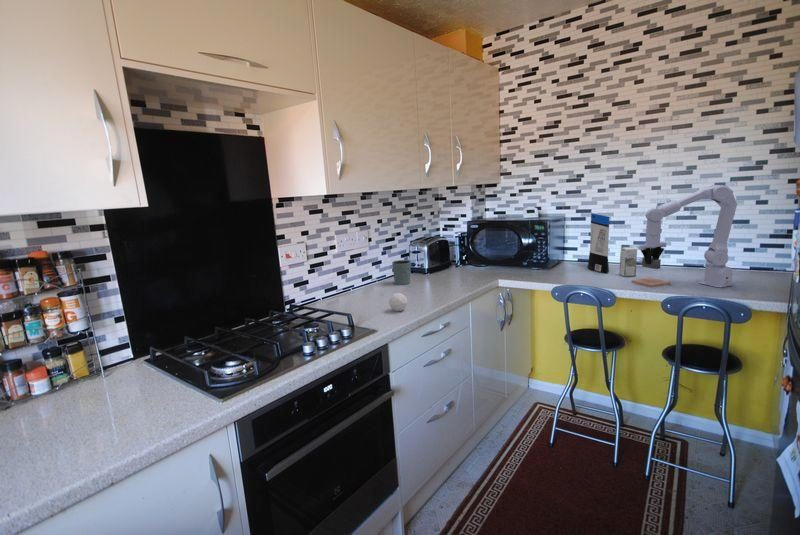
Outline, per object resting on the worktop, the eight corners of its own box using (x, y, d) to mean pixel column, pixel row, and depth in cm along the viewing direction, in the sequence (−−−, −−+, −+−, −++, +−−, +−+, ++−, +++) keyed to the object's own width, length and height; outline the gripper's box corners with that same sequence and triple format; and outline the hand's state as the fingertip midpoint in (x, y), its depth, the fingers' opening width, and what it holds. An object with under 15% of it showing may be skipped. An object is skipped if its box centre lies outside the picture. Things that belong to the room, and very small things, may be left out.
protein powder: (597, 274, 219) (599, 217, 213) (581, 265, 243) (582, 213, 237) (616, 273, 218) (619, 216, 212) (598, 264, 242) (599, 212, 236)
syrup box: (630, 273, 215) (632, 246, 213) (636, 276, 210) (637, 248, 207) (619, 274, 216) (620, 246, 213) (624, 276, 210) (625, 248, 207)
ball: (398, 318, 177) (390, 307, 172) (391, 307, 183) (383, 296, 178) (413, 307, 177) (405, 296, 172) (405, 297, 184) (397, 286, 178)
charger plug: (662, 268, 191) (662, 259, 190) (656, 269, 190) (656, 260, 189) (643, 264, 201) (643, 256, 200) (637, 265, 200) (637, 257, 199)
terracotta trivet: (669, 284, 192) (670, 281, 192) (651, 287, 189) (651, 285, 189) (649, 279, 203) (649, 277, 202) (631, 282, 199) (631, 280, 199)
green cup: (400, 280, 233) (399, 259, 231) (415, 282, 227) (414, 260, 225) (389, 284, 225) (388, 262, 223) (405, 286, 219) (403, 264, 217)
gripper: (657, 232, 197) (655, 260, 200) (633, 235, 193) (632, 264, 196) (671, 233, 190) (669, 262, 193) (646, 236, 186) (644, 266, 189)
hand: (651, 263), depth 194 cm, fingers closed on charger plug, 4 cm apart
